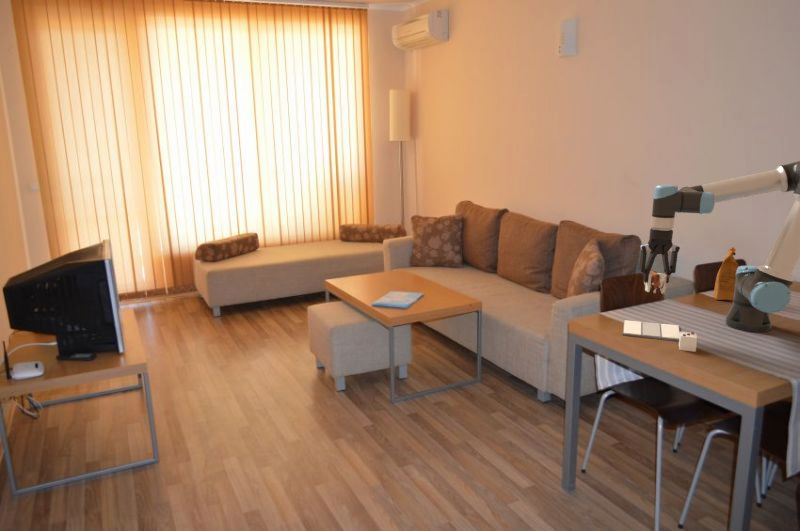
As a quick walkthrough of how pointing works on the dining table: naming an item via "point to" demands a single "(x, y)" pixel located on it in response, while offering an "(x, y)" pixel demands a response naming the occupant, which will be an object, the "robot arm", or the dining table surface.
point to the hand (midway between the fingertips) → (654, 291)
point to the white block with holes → (687, 341)
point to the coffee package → (726, 278)
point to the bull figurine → (657, 280)
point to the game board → (651, 330)
